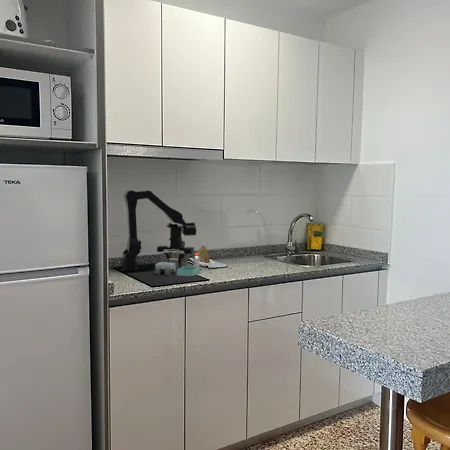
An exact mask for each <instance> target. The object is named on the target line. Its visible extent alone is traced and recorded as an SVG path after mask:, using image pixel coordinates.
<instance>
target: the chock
mask: <svg viewBox="0 0 450 450" xmlns="http://www.w3.org/2000/svg"><path fill="white" fill-rule="evenodd" d="M168 262H169V263H176V270H177V269H179V268H181V267H183V263H182V264H181V266H179V256H173V257H172V258H169V261H168Z"/></svg>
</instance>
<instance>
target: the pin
mask: <svg viewBox="0 0 450 450" xmlns="http://www.w3.org/2000/svg"><path fill="white" fill-rule="evenodd" d="M199 259H200V254H199V253H197V252H196V253H195V252H194V253H193V261H194V262H193V266H192V267H200V264H199Z"/></svg>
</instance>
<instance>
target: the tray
mask: <svg viewBox="0 0 450 450" xmlns="http://www.w3.org/2000/svg"><path fill="white" fill-rule="evenodd" d="M200 269H201V267H200V266H199V267H193V266H190V265H189V266H188V265H182V267H180V268H178V269H176V277H177V276H179V277H190V276H194V275H195V276H197V275H199V274H200V273H201V271H200ZM195 276H194V277H195Z"/></svg>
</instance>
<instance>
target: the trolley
mask: <svg viewBox="0 0 450 450" xmlns="http://www.w3.org/2000/svg"><path fill="white" fill-rule="evenodd" d="M154 267H155V268H154V274H155V275H157V276H158V275H159V276H160V275H161V274H162V273H164V276H171V275H172V274H174V273H177V269H176V263H169V261H168V262H166V261H160V262H157V263H155V265H154Z"/></svg>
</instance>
